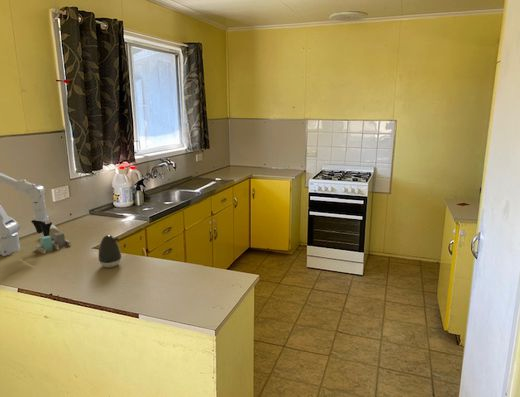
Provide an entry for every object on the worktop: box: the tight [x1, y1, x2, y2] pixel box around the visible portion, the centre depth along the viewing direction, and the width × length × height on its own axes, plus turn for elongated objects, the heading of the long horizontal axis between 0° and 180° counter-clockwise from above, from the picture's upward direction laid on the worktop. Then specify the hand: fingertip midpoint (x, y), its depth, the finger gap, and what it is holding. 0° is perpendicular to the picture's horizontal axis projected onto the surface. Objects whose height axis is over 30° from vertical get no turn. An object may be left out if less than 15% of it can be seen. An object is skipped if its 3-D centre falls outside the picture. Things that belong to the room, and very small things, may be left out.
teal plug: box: [39, 235, 53, 251], centre depth 202 cm, size 4×4×7 cm
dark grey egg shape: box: [98, 234, 122, 268], centre depth 184 cm, size 10×10×15 cm
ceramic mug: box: [42, 223, 66, 240], centre depth 223 cm, size 11×8×8 cm
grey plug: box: [53, 231, 66, 248], centre depth 207 cm, size 4×4×7 cm
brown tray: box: [35, 238, 72, 255], centre depth 206 cm, size 14×9×3 cm, turn 142°
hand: (43, 234), depth 201 cm, fingers open, 7 cm apart
